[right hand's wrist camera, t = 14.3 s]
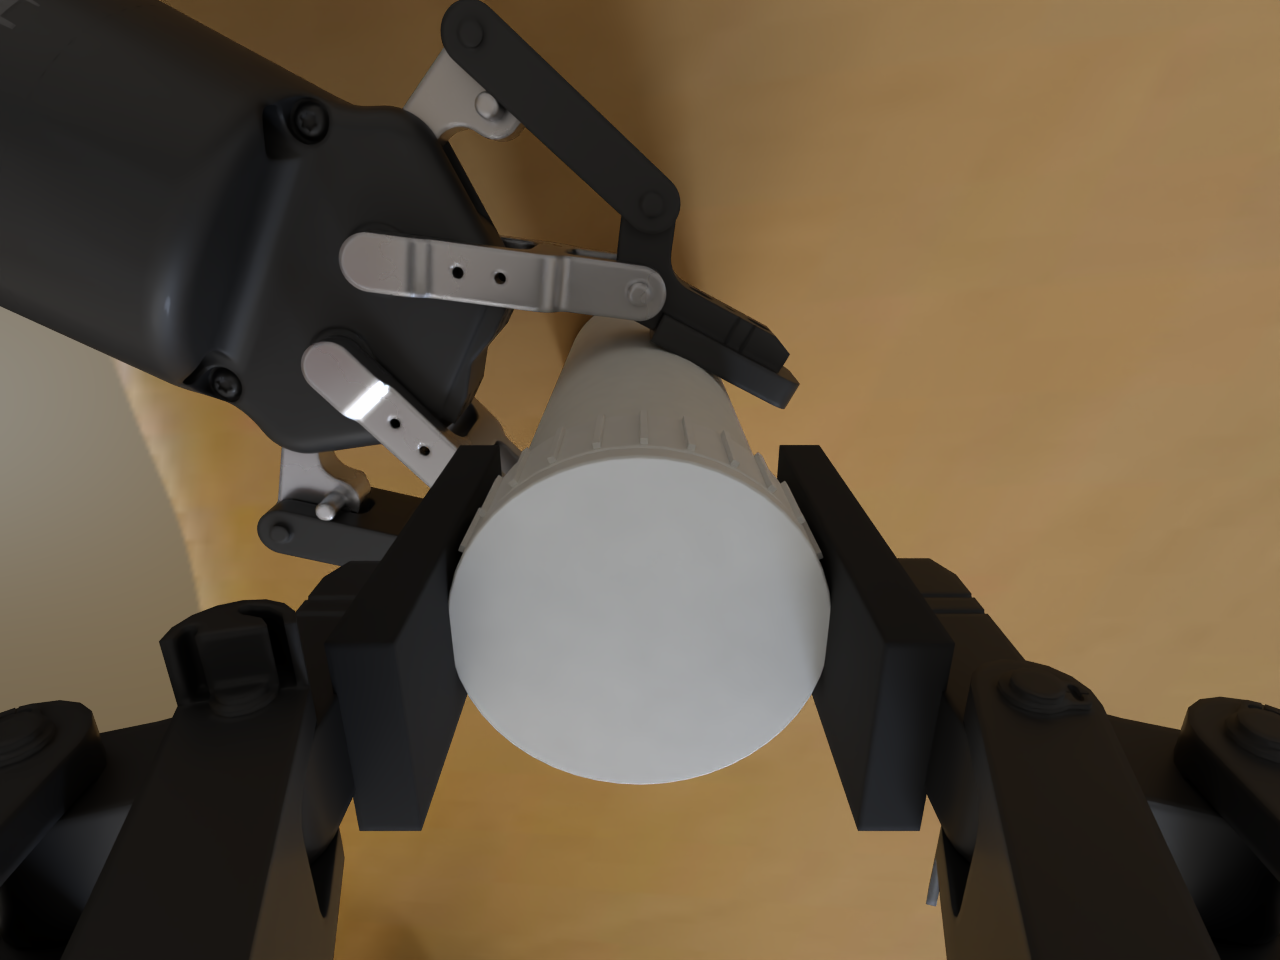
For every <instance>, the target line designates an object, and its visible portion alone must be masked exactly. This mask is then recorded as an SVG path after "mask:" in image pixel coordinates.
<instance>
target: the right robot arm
mask: <svg viewBox="0 0 1280 960" xmlns="http://www.w3.org/2000/svg"><path fill="white" fill-rule="evenodd" d="M498 475H500V476H501V477H502V470H501V457H500V445H460V446H459V448H458V449H457V450H456V452H455V453H454V455H453V456H452V458H451V459H450V461H449V462H448V464H447V465H446V466H445V468H444V469H443V471H442V472H441V474H440V475H439V477H438V478H437V480H436V481H435V482H434V484H433V485H432V487H431V488H430V490H429V491H428V493H427V494H426V496H425V497H424V498H423V500H422V501H421V503H420V504H419V506H418V507H417V509H416V510H415V512H414V513H413V514H412V516H411V517H410V519H409V520H408V522H407V523H406V525H405V526H404V528H403V529H402V530H401V532H400V533H399V535H398V536H397V538H396V539H395V541H394V542H393V544H392V545H391V546H390V548H389V549H388V551H387V552H386V554H385V555H384V557H383V558H382V560H381V561H349V562H347V563H346V564H344V565H343V566H341V567H339V568H338V569H336V570H335V571H333V572H331V573H330V574H328V575H326V576H325V577H323V579H322V580H321V581H320V582H319V584H318V585H317V586H316V587H315V589H314V590H313V591H312V592H311V594H310V595H309V596H308V600H305V601H304V602H303V604H302V605H301V606H300V607H299V609H298V610H297V611H296V612H295V611H294V610H293V609H291V608H290V607H289V606H287V605H286V604H285V603H281V602H276V601H271V600H266V599H263V600H242V601H237V602H232V603H227V604H223V605H218V606H215V607H212V608H210V609H207V610H204V611H202V612H199V613H197V614H194V615H192V616H190V617H188V618H187V619H185V620H183V621H182V622H180V623H179V624H177V625H175V626H174V627H172V628H171V629H170V630H169V631H168V632H167V633H166V634H165V636H164V637H163V638H162V639H161V640H160V641H159V643H160V646H161V650H162V653H163V657H164V660H165V664H166V667H167V671H168V674H169V678H170V681H171V685H172V688H173V691H174V695H175V698H176V702H177V705H178V707H177V709H176V711H175V713H174V715H173V717H172V718H169V719H166V720H162V721H158V722H153V723H148V724H143V725H138V726H133V727H128V728H123V729H118V730H114V731H108V732H104V733H99V731H98V728H97V725H96V722H95V719H94V716H93V713H92V711H91V710H90V709H88V708H87V707H86V706H84V705H83V704H81V703H78V702H70V701H62V700H58V701H50V702H42V703H34V704H29V705H25V706H20V707H19V708H17V709H15V708H13V709H10V710H7V711H4V712H2V713H0V960H333V957H334V948H335V939H336V930H337V921H338V912H339V903H340V894H341V885H342V876H343V867H344V851H343V845H342V840H341V835H340V830H339V825H340V823H341V821H342V819H343V817H344V815H345V813H346V811H347V808H348V806H349V804H350V802H351V800H352V798H353V799H354V804H355V809H356V815H357V820H358V825H359V830H360V831H421V830H422V827H423V824H424V821H425V818H426V815H427V812H428V809H429V806H430V803H431V800H432V797H433V794H434V792H435V789H436V786H437V783H438V780H439V777H440V774H441V771H442V768H443V765H444V762H445V759H446V756H447V753H448V750H449V747H450V744H451V741H452V738H453V735H454V732H455V729H456V726H457V723H458V720H459V717H460V714H461V711H462V708H463V706H464V703H465V700H466V697H467V692H466V690H465V688H464V686H463V684H462V682H461V680H460V678H459V676H458V673H457V670H456V667H455V660H454V652H453V643H452V634H451V625H450V616H449V605H448V598H449V591H450V587H451V584H452V580H453V576H454V573H455V570H456V568H457V565H458V563H459V561H460V559H461V556H462V554H463V552H460V551H458V549H459V547H460V545H461V543H462V541H463V539H464V537H465V535H466V533H467V531H468V529H469V527H470V525H471V523H472V521H473V519H474V517H475V515H476V513H477V511H478V509H479V508H481V507H482V505H483V503H484V501H485V499H486V497H487V495H488V493H489V491H490V489H491V487H492V485H493V483H494V481H495V479H496V478H497V477H498ZM777 479H778V481H779V482H780V484H781V483H782V482H784V481H785V482H786V483H787V485H788V486H789V488H790V490H791V493H792V495H793V497H794V499H795V501H796V503H797V505H798V507H799V509H800V511H801V513H802V514H803V516H804V518H805V520H806V522H807V524H808V526H809V528H810V530H811V532H812V534H813V536H814V538H815V540H816V542H817V544H818V546H819V548H820V550H821V552H822V555H823V558H822V559H819V561H820V563H821V565H822V568H823V570H824V574H825V577H826V580H827V584H828V587H829V591H830V599H831V608H830V619H829V628H828V637H827V646H826V654H825V662H824V667H823V670H822V673H821V676H820V678H819V680H818V682H817V684H816V686H815V688H814V690H813V692H812V696H813V699H814V702H815V705H816V708H817V711H818V714H819V717H820V720H821V722H822V725H823V728H824V731H825V734H826V737H827V740H828V743H829V746H830V749H831V752H832V755H833V758H834V761H835V764H836V767H837V770H838V773H839V776H840V779H841V782H842V785H843V788H844V791H845V794H846V797H847V800H848V803H849V806H850V809H851V812H852V814H853V817H854V820H855V823H856V826H857V829H858V831H920V826H921V821H922V816H923V811H924V805H925V800H926V795H927V796H928V798H929V800H930V802H931V804H932V806H933V808H934V811H935V813H936V815H937V817H938V819H939V821H940V823H941V830H940V835H939V840H938V844H937V849H936V854H935V859H934V864H933V869H932V874H931V879H930V884H929V889H928V895H927V901H926V904H928V905H932V906H936V904H937V899H938V894H939V892H940V901H941V910H942V919H943V928H944V937H945V946H946V955H947V960H1280V709H1277V708H1275V707H1272V706H1269V705H1266V704H1265V705H1262V704H1261V703H1258V702H1254V701H1250V700H1241V699H1234V698H1226V697H1215V698H1206V699H1200V700H1198V701H1197V702H1195V703H1194V704H1193V705H1191V706H1190V707H1188V710H1187V713H1186V716H1185V719H1184V722H1183V725H1182V728H1181V730H1178V729H1173V728H1168V727H1163V726H1158V725H1153V724H1148V723H1143V722H1138V721H1133V720H1128V719H1123V718H1119V717H1115V716H1111V715H1108V714H1106V712H1105V710H1104V707H1103V705H1102V704H1101V703H1100V701H1099V700H1098V699H1097V697H1096V696H1095V695H1094V694H1093V692H1092V691H1091V690H1090V689H1089V688H1087V687H1086V686H1084V685H1083V684H1082V683H1080V682H1079V681H1077V680H1076V679H1075V678H1073V677H1072V676H1070V675H1067V674H1065V673H1063V672H1061V671H1058V670H1056V669H1054V668H1051V667H1049V666H1046V665H1042V664H1038V663H1034V662H1030V661H1026V660H1025V659H1024V658H1023V657H1022V656H1021V654H1020V653H1019V652H1018V651H1017V650H1016V648H1015V647H1014V646H1013V645H1012V643H1011V642H1010V641H1009V640H1008V638H1007V637H1006V636H1005V635H1004V633H1003V632H1002V631H1001V630H1000V629H999V627H998V626H997V625H996V624H995V622H994V621H993V620H992V619H991V617H990V616H989V615H988V614H985V613H984V609H983V608H982V606H981V605H980V604H979V603H978V601H977V600H976V599H975V598H972V597H971V593H970V591H969V590H968V589H967V588H966V587H965V585H964V584H963V583H962V582H961V580H960V579H959V578H958V577H957V575H956V574H954V573H952V572H951V571H949V570H947V569H946V568H944V567H943V566H941V565H939V564H938V563H936V562H934V561H933V560H931V559H930V558H896V556H895V555H894V553H893V552H892V551H891V549H890V548H889V546H888V545H887V543H886V542H885V540H884V539H883V537H882V536H881V535H880V533H879V532H878V530H877V529H876V527H875V526H874V524H873V523H872V521H871V520H870V519H869V517H868V516H867V514H866V513H865V511H864V510H863V508H862V507H861V505H860V504H859V502H858V501H857V500H856V498H855V497H854V495H853V494H852V492H851V491H850V489H849V488H848V486H847V485H846V484H845V482H844V481H843V479H842V478H841V476H840V475H839V473H838V472H837V470H836V469H835V468H834V466H833V465H832V463H831V462H830V460H829V459H828V457H827V456H826V454H825V453H824V452H823V450H822V449H821V447H820V446H819V445H780V447H779V460H778V474H777ZM295 613H296V614H295Z"/></svg>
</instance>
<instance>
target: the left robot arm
mask: <svg viewBox="0 0 1280 960" xmlns="http://www.w3.org/2000/svg"><path fill="white" fill-rule="evenodd" d="M441 39H442V43H443V46H444V48H443V49H442V51H441V52H440V54H439V55H438V57H437V58H436V60H435V61H434V63H433V64H432V66H431V67H430V69H429V70H428V71H427V73H426V74H425V76H424V77H423V79H422V80H421V82H420V83H419V85H418V86H417V88H416V89H415V91H414V92H413V94H412V95H411V97H410V98H409V100H408V101H407V103H406V104H405V106H404V107H403V108H402V109H401V108H398V107H393V106H357V105H353V104H350V103H348V102H346V101H344V100H342V99H340V98H338V97H336V96H334V95H332V94H330V93H328V92H327V91H325V90H323V89H321V88H319V87H317V86H316V85H314V84H312V83H310V82H308V81H306V80H304V79H303V78H301V77H299V76H297V75H295V74H293V73H292V72H290V71H288V70H286V69H284V68H282V67H280V66H279V65H277V64H275V63H273V62H271V61H269V60H268V59H266V58H264V57H262V56H260V55H258V54H257V53H255V52H253V51H251V50H249V49H247V48H245V47H244V46H242V45H240V44H238V43H236V42H234V41H233V40H231V39H229V38H227V37H225V36H223V35H221V34H220V33H218V32H216V31H214V30H212V29H210V28H209V27H207V26H205V25H203V24H201V23H199V22H197V21H196V20H194V19H192V18H190V17H188V16H186V15H185V14H183V13H181V12H179V11H177V10H176V9H174V8H172V7H170V6H168V5H166V4H164V3H163V2H161V1H159V0H0V306H1V307H3V308H5V309H8V310H10V311H12V312H14V313H17V314H19V315H21V316H23V317H25V318H28V319H30V320H32V321H34V322H36V323H39V324H41V325H43V326H45V327H47V328H49V329H52V330H54V331H56V332H58V333H61V334H63V335H65V336H67V337H69V338H72V339H74V340H76V341H78V342H80V343H83V344H85V345H87V346H89V347H91V348H94V349H96V350H98V351H100V352H102V353H105V354H107V355H109V356H111V357H113V358H116V359H118V360H120V361H122V362H124V363H127V364H129V365H131V366H133V367H135V368H138V369H140V370H142V371H144V372H146V373H149V374H151V375H153V376H155V377H157V378H160V379H162V380H164V381H166V382H168V383H171V384H173V385H176V386H178V387H181V388H184V389H187V390H190V391H194V392H197V393H201V394H204V395H208V396H211V397H214V398H217V399H220V400H223V401H226V402H228V403H231V404H232V405H234V406H236V407H237V408H239V409H240V410H242V411H243V412H244V413H245V414H247V415H248V416H249V417H250V418H251V419H252V420H253V421H254V422H255V423H256V424H257V425H258V426H259V427H260V428H261V430H262V431H263V432H264V433H265V434H266V435H267V436H268V437H269V438H270V439H271V440H272V441H273V442H275V443H276V444H278V445H279V446H281V447H282V453H281V467H280V481H279V496H278V502H277V504H276V505H275V506H274V507H272V508H271V509H270V510H269V511H268V512H267V513H266V514H264V515H263V516H262V517H261V518H260V520H259V522H258V525H257V531H258V535H259V538H260V540H261V541H262V542H263V544H264V545H265V546H267V547H268V548H269V549H271V550H273V551H275V552H278V553H282V554H286V555H291V556H296V557H301V558H305V559H310V560H315V561H319V562H324V563H329V564H334V565H338V566H343V565H344V564H346V563H347V562H349V561H381V560H382V558H383V557H384V555H385V554H386V552H387V551H388V549H389V548H390V546H391V545H392V544H393V542H394V541H395V539H396V538H397V536H398V535H399V533H400V532H401V530H402V529H403V528H404V526H405V525H406V523H407V522H408V520H409V519H410V517H411V516H412V514H413V513H414V512H415V510H416V509H417V507H418V506H419V504H420V503H421V501H422V500H423V498H418V497H414V496H409V495H405V494H400V493H396V492H391V491H387V490H382V489H378V488H373V487H371V486H370V483H369V481H368V479H367V477H366V475H365V473H364V472H362V471H360V470H356V469H353V468H351V467H348V466H346V465H345V464H343V463H342V462H341V461H340V460H339V459H338V458H337V457H336V455H335V453H334V451H335V450H342V449H349V448H356V447H363V446H370V445H377V444H383V445H384V446H385V447H386V448H387V449H388V450H389V451H390V452H391V453H392V454H394V455H395V456H396V457H397V458H398V459H399V460H400V461H401V462H402V463H403V464H405V465H406V466H407V467H408V468H409V469H410V470H411V471H412V472H413V473H414V474H416V475H417V476H418V477H419V478H420V479H421V480H422V481H423V482H424V483H425V484H427V485H428V486H429V487H430V488H431V487H432V485H433V484H434V482H435V481H436V480H437V478H438V477H439V475H440V474H441V472H442V471H443V469H444V468H445V466H446V465H447V464H448V462H449V461H450V459H451V458H452V456H453V455H454V453H455V452H456V450H457V449H458V448H459V446H460V445H500V457H501V470H502V477H504V476H505V475H506V474H507V473H508V472H509V470H510V469H511V468H512V467H513V466H514V465H515V464H516V463H517V462H518V460H519V458H520V455H521V453H522V452H521V451H520V450H519V449H518V448H517V447H516V446H515V445H514V444H513V443H512V442H511V441H510V440H509V439H508V438H507V437H506V435H505V434H504V431H503V428H502V426H501V424H500V423H499V422H498V420H497V419H496V418H495V417H494V416H493V415H492V414H491V413H490V412H489V411H488V410H487V409H486V408H485V407H484V406H483V405H482V404H481V403H480V402H479V401H478V400H477V399H476V398H475V397H474V396H475V394H476V392H477V390H478V387H479V385H480V383H481V381H482V379H483V376H484V369H485V362H486V356H487V349H488V346H489V344H490V343H491V342H492V341H493V339H494V338H495V337H496V336H497V335H498V334H499V332H500V331H501V330H502V329H503V328H504V326H505V325H506V324H507V323H508V321H509V319H510V316H511V314H512V312H513V310H514V309H519V310H526V311H534V312H572V313H580V314H587V315H595V316H602V317H610V318H618V319H625V320H633V321H635V322H637V323H639V324H641V325H643V326H645V327H647V328H649V329H650V341H651V342H653V343H655V344H656V345H658V346H660V347H662V348H664V349H666V350H668V351H670V352H672V353H674V354H676V355H678V356H680V357H682V358H684V359H686V360H688V361H690V362H692V363H694V364H695V365H697V366H699V367H701V368H702V369H704V370H706V371H708V372H710V373H712V374H714V375H716V376H718V377H720V378H722V379H724V380H726V381H727V382H729V383H731V384H733V385H735V386H737V387H739V388H741V389H743V390H745V391H747V392H749V393H750V394H752V395H754V396H756V397H758V398H760V399H762V400H764V401H766V402H768V403H770V404H772V405H774V406H776V407H778V408H781V409H785V407H786V406H787V404H788V402H789V401H790V399H791V397H792V396H793V394H794V393H795V391H796V389H797V388H798V386H799V385H800V383H799V382H798V381H797V380H796V378H795V377H794V376H793V375H792V373H791V372H790V371H789V370H788V369H787V368H785V367H784V366H783V365H784V363H785V361H786V360H787V358H788V356H789V355H790V354H789V353H788V351H787V350H786V349H785V348H784V346H783V345H782V344H781V343H780V341H779V340H778V339H777V337H776V336H775V335H774V334H773V333H772V332H771V331H770V330H769V328H768V327H767V326H765V325H763V324H761V323H760V322H758V321H756V320H754V319H752V318H750V317H749V316H746V315H745V314H743V313H741V312H739V311H737V310H736V309H733V308H732V307H730V306H728V305H726V304H725V303H723V302H721V301H719V300H717V299H715V298H714V297H712V296H710V295H708V294H706V293H704V292H702V291H701V290H699V289H697V288H695V287H693V286H691V285H690V284H688V283H686V282H684V281H683V280H681V279H680V278H679V277H678V276H677V275H676V274H675V272H674V271H673V269H672V265H671V250H672V243H673V236H674V229H675V222H676V219H677V217H678V214H679V211H680V197H679V193H678V191H677V189H676V187H675V185H674V184H673V183H672V182H671V181H670V180H669V179H668V178H667V177H666V176H665V175H664V174H663V173H662V172H661V171H660V170H659V169H658V168H657V167H656V166H655V165H654V164H652V163H651V162H650V161H649V160H648V159H647V158H646V157H645V156H644V155H643V154H642V153H641V152H640V151H639V150H638V149H637V148H636V147H635V146H634V145H633V144H632V143H631V142H630V141H628V140H627V139H626V138H625V137H624V136H623V135H622V134H621V133H620V132H619V131H618V130H617V129H616V128H615V127H614V126H613V125H612V124H611V123H610V122H609V121H608V120H607V119H606V118H604V117H603V116H602V115H601V114H600V113H599V112H598V111H597V110H596V109H595V108H594V107H593V106H592V105H591V104H590V103H589V102H588V101H587V100H586V99H585V98H584V97H583V96H582V95H580V94H579V93H578V92H577V91H576V90H575V89H574V88H573V87H572V86H571V85H570V84H569V83H568V82H567V81H566V80H565V79H564V78H563V77H562V76H561V75H560V74H559V73H558V72H556V71H555V70H554V69H553V68H552V67H551V66H550V65H549V64H548V63H547V62H546V61H545V60H544V59H543V58H542V57H541V56H540V55H539V54H538V53H537V52H536V51H535V50H534V49H532V48H531V47H530V46H529V45H528V44H527V43H526V42H525V41H524V40H523V39H522V38H521V37H520V36H519V35H518V34H517V33H516V32H515V31H514V30H513V29H512V28H511V27H510V26H508V25H507V24H506V23H505V22H504V21H503V20H502V19H501V18H500V17H499V16H498V15H497V14H496V13H495V12H494V11H493V10H492V9H491V8H490V7H488V6H487V5H486V4H485V3H483V2H481V1H479V0H459V1H457V2H455V3H454V4H452V5H451V6H450V7H449V8H448V9H447V11H446V12H445V14H444V16H443V19H442V23H441ZM525 127H526V128H527V129H528V130H529V131H530V132H531V133H533V134H534V135H535V136H536V137H537V138H538V139H539V140H540V141H541V142H542V143H543V144H545V145H546V146H547V147H548V148H549V149H550V150H551V151H552V152H553V153H554V154H555V155H556V156H558V157H559V158H560V159H561V160H562V161H563V162H564V163H565V164H566V165H567V166H568V167H569V168H571V169H572V170H573V171H574V172H575V173H576V174H577V175H578V176H579V177H580V178H581V179H582V180H584V181H585V182H586V183H587V184H588V185H589V186H590V187H591V188H592V189H593V190H594V191H595V192H597V193H598V194H599V195H600V196H601V197H602V198H603V199H604V200H605V201H606V202H607V203H608V204H610V205H611V206H612V207H613V208H614V209H615V210H616V211H617V212H618V213H619V214H620V215H621V223H620V232H619V241H618V250H617V253H615V252H608V251H600V250H593V249H585V248H579V247H574V246H571V245H566V244H561V243H554V242H547V241H539V240H532V239H525V238H517V237H510V236H502V235H499V234H498V232H497V230H496V228H495V226H494V224H493V223H492V221H491V219H490V217H489V215H488V213H487V212H486V210H485V208H484V206H483V204H482V202H481V200H480V199H479V197H478V195H477V193H476V191H475V189H474V188H473V186H472V184H471V182H470V180H469V178H468V176H467V175H466V173H465V171H464V169H463V167H462V165H461V163H460V162H459V160H458V158H457V156H456V154H455V152H454V151H453V149H452V147H451V145H450V143H449V141H448V140H449V139H450V138H451V136H453V135H454V134H455V133H457V132H459V131H462V130H468V129H469V130H474V131H476V132H477V133H479V134H480V135H482V136H484V137H486V138H489V139H492V140H495V141H500V142H505V141H510V140H512V139H514V138H516V137H517V136H519V135H520V133H521V132H522V131H523V130H524V128H525ZM427 447H428V448H427Z"/></svg>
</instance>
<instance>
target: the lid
mask: <svg viewBox="0 0 1280 960" xmlns="http://www.w3.org/2000/svg"><path fill="white" fill-rule="evenodd" d="M458 551H460V552H463V554H462V556H461V559H460V561H459V563H458V565H457V568H456V570H455V573H454V576H453V580H452V584H451V587H450V591H449V598H448V605H449V616H450V625H451V634H452V643H453V652H454V660H455V667H456V670H457V673H458V676H459V678H460V680H461V682H462V684H463V686H464V688H465V690H466V692H467V694H468V695H469V697H470V699H471V700H472V701H473V703H474V704H475V706H476V707H477V708H478V710H479V711H480V713H481V714H482V715H483V716H484V717H485V718H486V719H487V721H488V722H489V723H490V724H491V725H492V726H493V727H494V728H495V729H496V730H497V731H498V732H499V733H500V734H502V735H503V736H504V737H505V738H506V739H508V740H509V741H510V742H511V743H512V744H514V745H515V746H517V747H518V748H520V749H521V750H523V751H524V752H526V753H528V754H529V755H531V756H532V757H534V758H536V759H538V760H540V761H542V762H544V763H546V764H548V765H550V766H552V767H555V768H557V769H560V770H563V771H565V772H568V773H571V774H574V775H578V776H581V777H585V778H589V779H593V780H598V781H605V782H612V783H620V784H658V783H668V782H674V781H680V780H686V779H690V778H694V777H698V776H701V775H705V774H709V773H711V772H714V771H716V770H719V769H722V768H724V767H727V766H729V765H731V764H733V763H735V762H737V761H739V760H741V759H743V758H745V757H747V756H749V755H750V754H752V753H753V752H755V751H756V750H758V749H759V748H761V747H762V746H764V745H765V744H767V743H768V742H769V741H770V740H771V739H773V738H774V737H775V736H776V735H777V734H778V733H780V732H781V731H782V730H783V729H784V728H785V727H786V726H787V725H788V724H789V723H790V722H791V721H792V719H793V718H794V717H795V716H796V715H797V714H798V713H799V711H800V710H801V709H802V707H803V706H804V704H805V703H806V701H807V700H808V698H809V697H810V696H811V694H812V692H813V690H814V688H815V686H816V684H817V682H818V680H819V678H820V676H821V673H822V670H823V667H824V662H825V654H826V646H827V637H828V628H829V619H830V608H831V599H830V591H829V587H828V584H827V580H826V577H825V574H824V570H823V568H822V565H821V563H820V561H819V559H822V558H823V555H822V552H821V550H820V548H819V546H818V544H817V542H816V540H815V538H814V536H813V534H812V532H811V530H810V528H809V526H808V524H807V522H806V520H805V518H804V516H803V514H802V513H801V511H800V509H799V507H798V505H797V503H796V501H795V499H794V497H793V495H792V493H791V490H790V488H789V486H788V485H787V483H786V482H785V481H784V482H782V483H781V484H780V482H779V481H778V479H777V478H776V477H775V476H774V475H773V474H772V473H771V471H770V470H769V469H768V467H767V465H766V463H765V460H764V458H763V456H762V455H761V454H760V453H759V452H757V453H756V454H755V455H753V454H752V453H751V452H749V451H748V450H747V449H746V448H744V447H742V446H741V445H739V444H738V443H736V442H735V441H733V440H732V439H731V436H730V433H729V432H727V431H725V430H723V431H722V433H721V434H720V433H718V432H716V431H714V430H712V429H710V428H707V427H704V426H701V425H698V424H695V423H692V422H691V420H690V417H688V416H684V415H683V418H682V420H681V419H675V418H670V417H664V416H652V415H647V410H640V415H627V416H614V417H609V418H605V416H604V414H599V415H597V419H596V420H594V421H590V422H587V423H584V424H581V425H578V426H575V427H572V428H569V429H567V430H565V429H564V427H563V426H562V427H560V428H558V429H557V430H556V433H555V436H553V437H551V438H549V439H547V440H546V441H544V442H543V443H541V444H540V445H538V446H537V447H535V448H534V449H532V450H531V451H530V450H529V449H528V448H525V449H524V450H523V451H522V453H521V455H520V458H519V460H518V462H517V463H516V464H515V465H514V466H513V467H512V468H511V469H510V470H509V472H508V473H507V474H506V475H505V476H504V477H501V476H500V475H498V477H497V478H496V479H495V481H494V483H493V485H492V487H491V489H490V491H489V493H488V495H487V497H486V499H485V501H484V503H483V505H482V507H481V508H479V509H478V511H477V513H476V515H475V517H474V519H473V521H472V523H471V525H470V527H469V529H468V531H467V533H466V535H465V537H464V539H463V541H462V543H461V545H460V547H459V549H458Z"/></svg>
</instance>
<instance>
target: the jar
mask: <svg viewBox="0 0 1280 960" xmlns="http://www.w3.org/2000/svg"><path fill="white" fill-rule="evenodd" d="M640 410H647V415H652V416H664V417H670V418H675V419H681V420H682V418H683V415H684V416H688V417H690V420H691V422H692V423H695V424H698V425H701V426H704V427H707V428H710V429H712V430H714V431H716V432H718V433H720V434H721V433H722V431H723V430H725V431H727V432H729V433H730V436H731V439H732V440H733V441H735V442H736V443H738V444H739V445H741V446H742V447H744V448H746V449H747V450H748V451H749V452H751V453H752V451H751V449H750V446H749V444H748V442H747V439H746V437H745V434H744V432H743V430H742V427H741V425H740V422H739V420H738V418H737V415H736V413H735V411H734V408H733V406H732V403H731V401H730V399H729V396H728V394H727V392H726V389H725V387H724V384H723V382H722V380H721V378H720V377H718V376H716V375H714V374H712V373H710V372H708V371H706V370H704V369H702V368H701V367H699V366H697V365H695V364H694V363H692V362H690V361H688V360H686V359H684V358H682V357H680V356H678V355H676V354H674V353H672V352H670V351H668V350H666V349H664V348H662V347H660V346H658V345H656V344H655V343H653V342H651V341H650V329H649V328H647V327H645V326H643V325H641V324H639V323H637V322H635V321H633V320H625V319H618V318H610V317H602V316H595V315H594V316H593V317H592V318H591V319H590V320H589V321H588V322H587V323H586V324H585V325H584V326H583V328H582V329H581V330H580V331H579V333H578V335H577V337H576V338H575V340H574V343H573V345H572V347H571V350H570V352H569V354H568V357H567V359H566V362H565V364H564V366H563V369H562V371H561V374H560V376H559V378H558V381H557V383H556V385H555V388H554V390H553V393H552V395H551V397H550V400H549V402H548V404H547V407H546V409H545V412H544V414H543V416H542V419H541V421H540V423H539V426H538V428H537V431H536V433H535V435H534V438H533V440H532V442H531V445H530V447H529V450H530V451H531V450H532V449H534V448H535V447H537V446H538V445H540V444H541V443H543V442H544V441H546V440H547V439H549V438H551V437H553V436H555V433H556V430H557V429H558V428H560V427H562V426H563V427H564V429H565V430H567V429H569V428H572V427H575V426H578V425H581V424H584V423H587V422H590V421H594V420H596V419H597V415H599V414H604V416H605V418H609V417H614V416H627V415H640ZM752 454H753V453H752Z"/></svg>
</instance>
